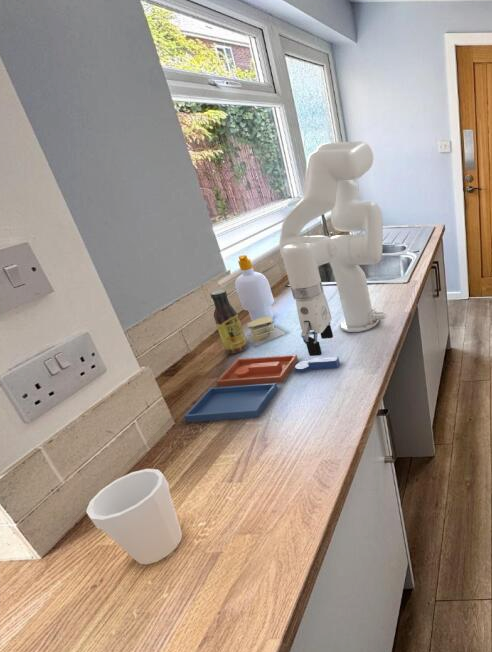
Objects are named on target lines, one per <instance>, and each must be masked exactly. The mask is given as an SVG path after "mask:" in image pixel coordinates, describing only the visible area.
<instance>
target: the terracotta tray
mask: <svg viewBox="0 0 492 652" xmlns="http://www.w3.org/2000/svg"><path fill="white" fill-rule="evenodd" d="M298 361H299V358H298V355H297V354H289V355H275V356H263V357H262V356H261V357H250V358H248V357H247V358H237V359H236V360H235V361H234V362H233V364H232V365H230V367H229V368H228V369H227V370H226V371H225V372H224V373H223V374H222V375H221V376H220V377H219V378H218V379H217V380H216V384H217V387H229V386H242V385H256V384H269V383H276V384H282V383H284V381H285V380H286V379H287V378H288V375H290V373H291V372H292V370H293V369H294V368H295V365H296V364H297V363H298ZM266 362H280V363H281V366H282V369H281V371H280V372H279V373H268V374H254V375H249V376H246V377H242V378H239V377H237V376H236V374H235V371H236V370H237V369H238V368H240V367H243V366H247V365H251V364H252V363H266Z"/></svg>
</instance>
